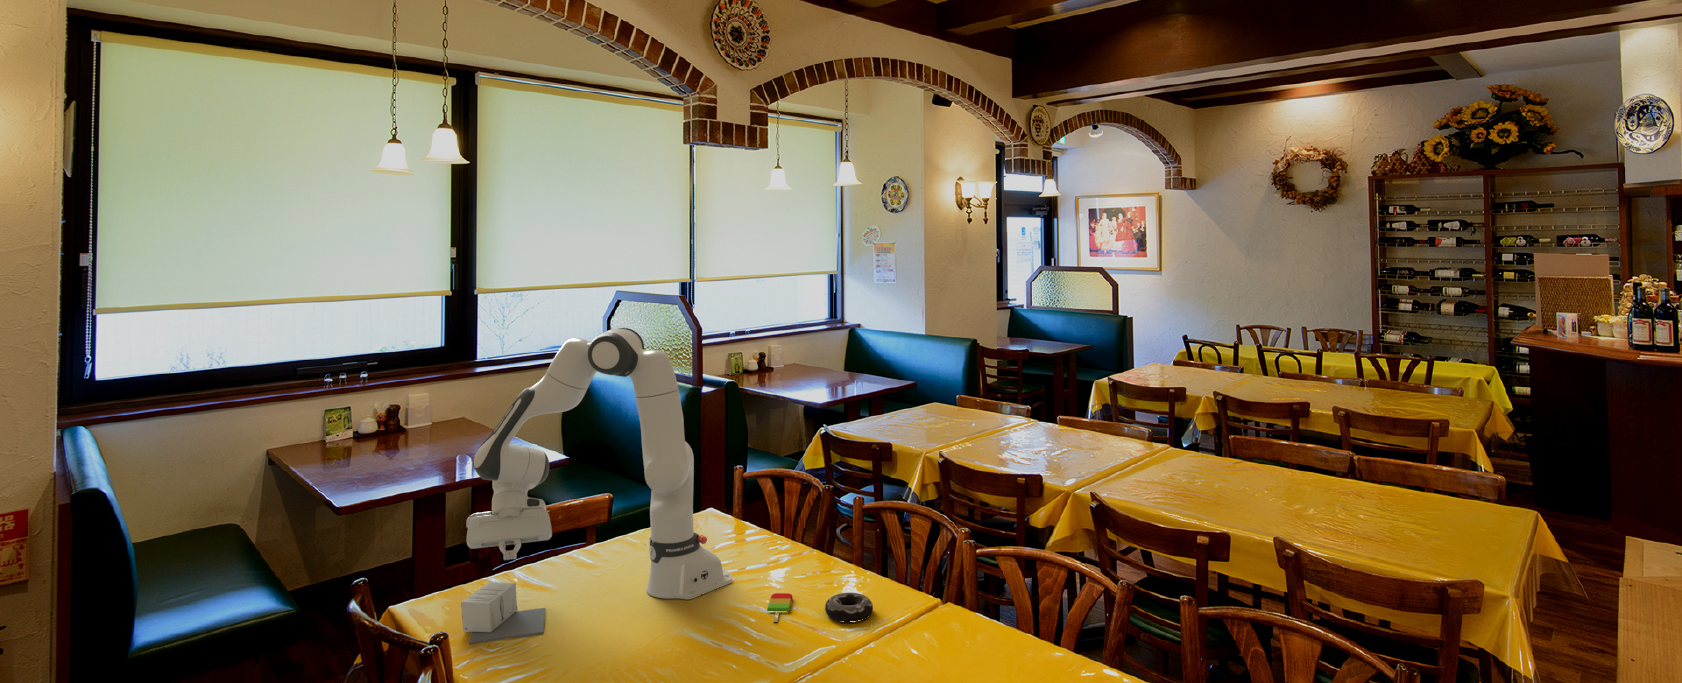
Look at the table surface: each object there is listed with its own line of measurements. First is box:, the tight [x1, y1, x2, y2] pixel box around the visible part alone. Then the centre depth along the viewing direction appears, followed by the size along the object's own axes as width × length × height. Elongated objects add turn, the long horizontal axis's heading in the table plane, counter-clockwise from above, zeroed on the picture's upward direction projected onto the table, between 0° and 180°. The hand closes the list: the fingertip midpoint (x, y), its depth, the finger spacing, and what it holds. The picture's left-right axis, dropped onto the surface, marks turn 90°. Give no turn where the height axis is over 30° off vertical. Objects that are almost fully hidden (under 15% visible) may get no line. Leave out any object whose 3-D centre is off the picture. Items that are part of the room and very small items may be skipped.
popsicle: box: [766, 592, 793, 623], centre depth 205 cm, size 6×15×2 cm, turn 177°
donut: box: [824, 592, 874, 622], centre depth 202 cm, size 12×12×4 cm
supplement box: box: [460, 581, 518, 633], centre depth 199 cm, size 7×7×13 cm
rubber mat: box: [468, 607, 546, 645], centre depth 198 cm, size 14×16×1 cm
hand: (509, 558), depth 207 cm, fingers closed
